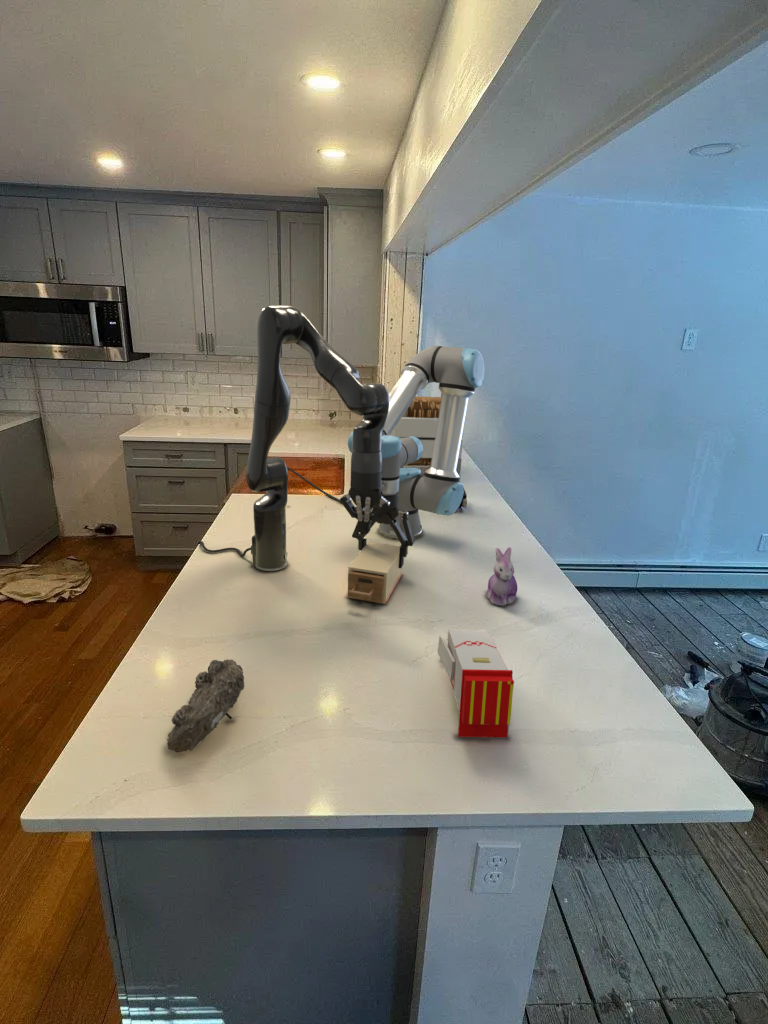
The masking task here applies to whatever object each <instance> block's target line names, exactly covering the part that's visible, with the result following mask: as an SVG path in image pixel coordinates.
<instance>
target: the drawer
mask: <svg viewBox="0 0 768 1024" xmlns="http://www.w3.org/2000/svg"><path fill="white" fill-rule="evenodd" d="M383 589H384V575H380V574H373V573H367V572H361V571H354V572H352V571H350V572H349V573H348V572H347V598H348V599H354V600H359V601H365V602H371V603H376V604H383V603H382V602H383Z"/></svg>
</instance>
